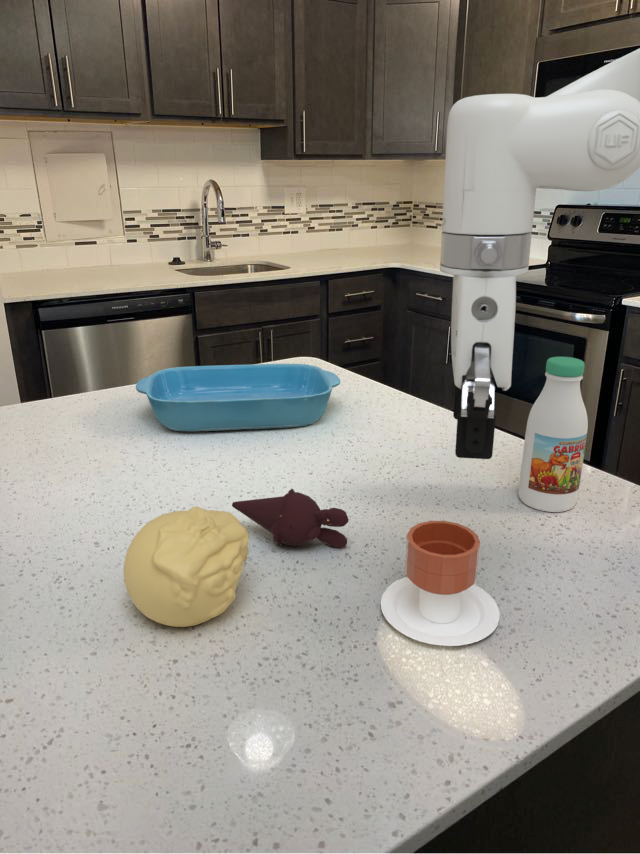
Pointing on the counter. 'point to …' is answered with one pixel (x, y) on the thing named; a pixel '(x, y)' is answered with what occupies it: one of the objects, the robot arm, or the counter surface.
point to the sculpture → (186, 566)
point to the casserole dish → (238, 396)
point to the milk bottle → (555, 439)
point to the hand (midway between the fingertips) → (471, 436)
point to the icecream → (295, 519)
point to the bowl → (442, 557)
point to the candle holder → (440, 614)
